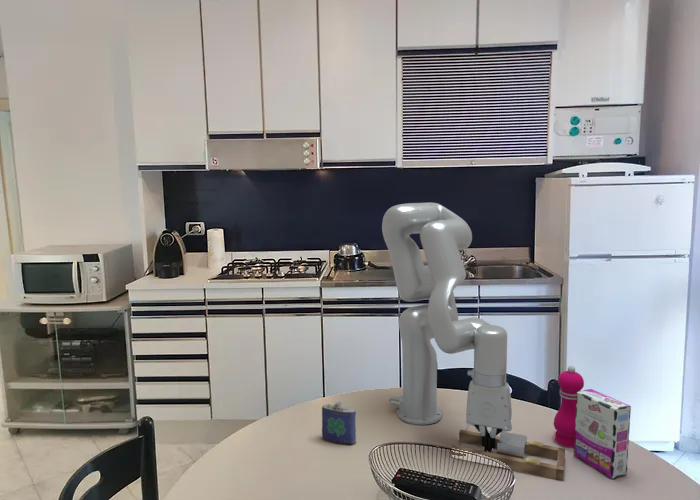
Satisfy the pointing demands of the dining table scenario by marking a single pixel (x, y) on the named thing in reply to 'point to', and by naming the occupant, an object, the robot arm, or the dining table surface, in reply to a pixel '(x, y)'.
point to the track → (518, 463)
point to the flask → (338, 424)
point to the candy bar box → (602, 432)
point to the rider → (512, 445)
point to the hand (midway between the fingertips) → (488, 449)
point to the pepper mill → (567, 407)
